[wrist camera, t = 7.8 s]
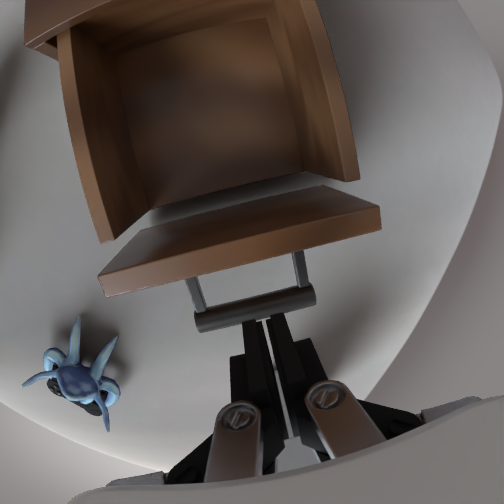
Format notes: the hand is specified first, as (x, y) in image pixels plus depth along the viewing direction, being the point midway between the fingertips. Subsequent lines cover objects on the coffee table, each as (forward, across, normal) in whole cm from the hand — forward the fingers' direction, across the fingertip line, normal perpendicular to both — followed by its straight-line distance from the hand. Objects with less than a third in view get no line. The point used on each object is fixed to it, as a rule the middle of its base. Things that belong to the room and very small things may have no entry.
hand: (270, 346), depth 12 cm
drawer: (+11, 0, -8) cm, 13 cm away
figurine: (+12, +18, +8) cm, 23 cm away
